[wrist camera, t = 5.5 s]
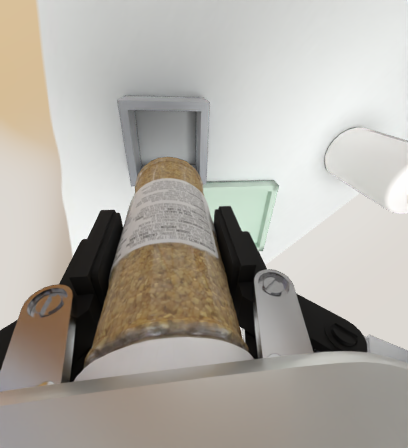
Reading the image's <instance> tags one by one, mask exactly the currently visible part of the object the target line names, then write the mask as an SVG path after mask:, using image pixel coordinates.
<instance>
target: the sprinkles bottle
mask: <svg viewBox="0 0 408 448" xmlns="http://www.w3.org/2000/svg"><path fill="white" fill-rule="evenodd" d="M248 349H249V348H248V346H247V345H246V343H245V342H244V340H243V339H242V335H241V330H240V327H239V322H238V319H237V315H236V311H235V309H234V304H233V302H232V297H231V294H230V290H229V286H228V281H227V276H226V273H225V268H224V265H223V262H222V258H221V254H220V250H219V246H218V242H217V234H216V231H215V228H214V224H213V221H212V217H211V214H210V210H209V206H208V203H207V201H206V199H205V197H204V193H203V183H202V180H201V177H200V175H199V174H198V172H197V171H196V170H195V168H193V167H192V166H191V165H190V164H189V163H188V162H186V161H184V160H180V159H178V158H173V157H163V158H157V159H155V160H153V161H151V162H149V163H148V164H147V165H145V166H144V167H143V168H142V170H141V171H140V172H139V174H138V176H137V180H136V184H135V195H134V197H133V199H132V201H131V203H130V206H129V210H128V213H127V217H126V220H125V224H124V227H123V231H122V234H121V237H120V241H119V244H118V248H117V251H116V255H115V258H114V261H113V265H112V268H111V271H110V276H109V286H108V291H107V295H106V298H105V301H104V305H103V308H102V312H101V316H100V319H99V322H98V326H97V330H96V334H95V337H94V341H93V347H92V349H91V350H90V351H89V353H88V354H87V356H86V358H85V361H84V369H83V370H82V371H81V373H80V374H78V375H77V377H76V378H75V380H74V382H75V381H83V380H91V379H98V378H106V377H114V376H122V375H130V374H138V373H146V372H154V371H162V370H170V369H178V368H186V367H195V366H203V365H211V364H219V363H228V362H236V361H245V360H253V359H254V358H253V357H252V356H251V355H250V354H249V352H248Z"/></svg>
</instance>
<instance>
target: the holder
mask: <svg viewBox="0 0 408 448" xmlns="http://www.w3.org/2000/svg"><path fill="white" fill-rule="evenodd" d="M117 102H118V108H119V114H120V120H121V126H122V132H123V138H124V144H125V151H126V157H127V163H128V169H129V175H130V181H131V186H135V184H136V180H137V176H138V174H139V172H140V171H141V170H142V168H143V167H144V166H145V165H141V158H140V150H139V142H138V134H137V127H136V119H135V111H134V110H151V111H196V165H191V166H192V167H193V168H195V170H196V171H197V172H198V174H199V175H200V177H201V180H202V183H203V185H206V177H207V154H208V131H209V108H210V102H209V101H207V100H206V99H205V98H200V97H162V96H123V97H122V98H120V99H118V100H117Z"/></svg>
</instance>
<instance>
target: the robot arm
mask: <svg viewBox="0 0 408 448" xmlns="http://www.w3.org/2000/svg"><path fill="white" fill-rule="evenodd" d="M214 228H215V231H216V234H217V242H218V246H219V250H220V254H221V258H222V262H223V265H224V268H225V273H226V276H227V281H228V286H229V290H230V294H231V297H232V302H233V304H234V309H235V311H236V315H237V319H238V322H239V326H240V327H241V328H242V334H243V340H244V342H245V343H246V345H247V346H248V348H249V349H248V352H249V354H250V355H251V356H252V357H253V358H254V359H253V360H245V361H236V362H228V363H219V364H211V365H203V366H195V367H186V368H178V369H170V370H162V371H154V372H146V373H138V374H130V375H122V376H114V377H106V378H98V379H91V380H83V381H75V382H74V380H75V378H76V377H77V375H78V374H80V373H81V371H82V370H83V369H84V361H85V358H86V356H87V354H88V353H89V351H90V350H91V349H92V347H93V341H94V337H95V334H96V330H97V326H98V322H99V319H100V316H101V312H102V308H103V305H104V301H105V298H106V295H107V291H108V286H109V276H110V271H111V268H112V265H113V261H114V258H115V255H116V251H117V248H118V244H119V241H120V237H121V234H122V231H123V225H122V221H121V216H120V213H116V212H115V210H101V211H100V213H99V215H98V217H97V219H96V222H95V224H94V226H93V228H92V230H91V232H90V234H89V236H88V238H87V239H83V240H82V241H81V242H80V244H79V246H78V248H77V250H76V252H75V254H74V256H73V258H72V260H71V262H70V264H69V266H68V268H67V270H66V272H65V274H64V276H63V278H62V280H61V281H60V284H58V285H51V286H48V287H45V288H43V289H41V290H39V291H37V292H35V293H34V294H33V295H31V296H30V297H29V298H28V300H27V301H26V302H25V303H24V305H23V307H22V309H21V312H20V315H19V318H18V320H16V321H15V322H13V323H11V324H10V325H8V326H7V327H5V328H3V329H2V330H0V448H408V351H407V350H405V349H403V348H400V347H398V346H396V345H393V344H391V343H388V342H386V341H383V340H381V339H379V338H376V337H374V336H371V335H368V336H367V337H365V336H363V335H362V333H361V332H360V330H358V329H357V328H356V327H355V326H354V325H353V324H351V323H350V322H348V321H347V320H345V319H343V318H341V317H339V316H337V315H336V314H334V313H332V312H330V311H328V310H326V309H324V308H322V307H321V306H319V305H317V304H315V303H313V302H311V301H309V300H307V299H305V298H304V297H302V296H300V295H298V294H296V292H295V289H294V285H293V283H292V281H291V280H290V279H289V278H288V277H287V276H286V275H285V274H283V273H281V272H279V271H276V270H272V269H271V270H270V269H268V270H267V268H266V266H265V264H264V262H263V260H262V258H261V256H260V254H259V251H258V249H257V247H256V245H255V243H254V241H253V239H252V237H251V235H250V233H249V232H248V231H242V230H241V228H240V226H239V223H238V221H237V219H236V217H235V214H234V212H233V210H232V208H231V206H219V208H218V209H215V212H214Z"/></svg>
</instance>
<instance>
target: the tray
mask: <svg viewBox="0 0 408 448" xmlns="http://www.w3.org/2000/svg"><path fill="white" fill-rule="evenodd" d="M278 188H279V185H278V184H277V183H276V182H275V181H274V180H273V181H230V182H206V185H203V193H204V197H205V199H206V201H207V203H208V206H209V210H210V214H211V217H212V221H213V224H214V212H215V209H218V208H219V206H231V208H232V210H233V212H234V214H235V217H236V219H237V221H238V223H239V226H240V228H241V230H242V231H248V232H249V233H250V235H251V237H252V239H253V241H254V243H255V245H256V247H257V249H258V251H263V249H264V245H265V241H266V237H267V233H268V229H269V225H270V221H271V216H272V212H273V208H274V204H275V200H276V196H277V192H278Z"/></svg>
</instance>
